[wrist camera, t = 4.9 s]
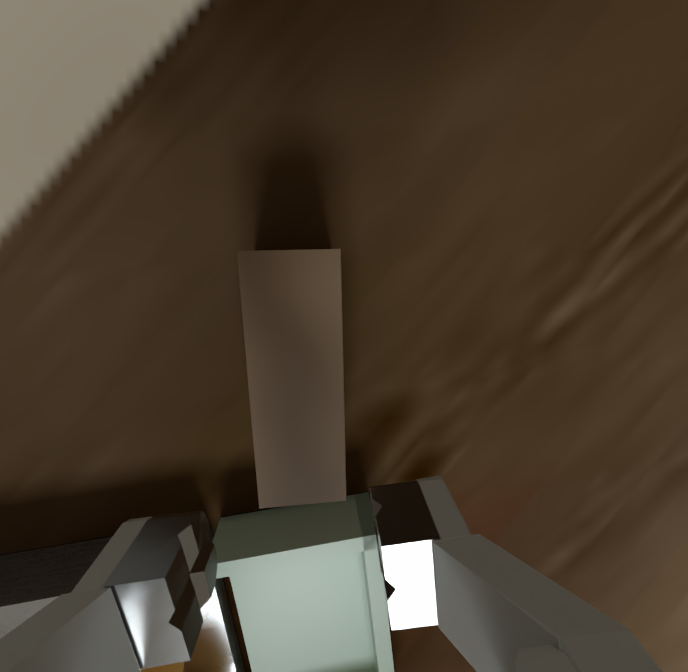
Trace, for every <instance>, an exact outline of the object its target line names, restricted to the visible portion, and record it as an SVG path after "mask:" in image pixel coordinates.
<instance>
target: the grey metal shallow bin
mask: <svg viewBox="0 0 688 672" xmlns="http://www.w3.org/2000/svg"><path fill="white" fill-rule="evenodd" d="M208 523H209V526H210V522H209V520H208ZM112 537H113V536H112ZM112 537H106V538H100V539H94V540H89V541H83V542H77V543H71V544H65V545H60V546H54V547H48V548H42V549H36V550H31V551H25V552H19V553H13V554H8V555H2V556H0V639H1V638H2V637H4V636H5V635H7V634H8V633H9V632H11V631H12V630H13V629H15V628H16V627H18V626H19V625H20V624H22V623H23V622H24V621H26V620H27V619H29V618H30V617H31V616H33V615H34V614H35V613H37V612H38V611H40V610H41V609H42V608H44V607H45V606H46V605H48V604H49V603H51V602H52V601H53V600H55V599H56V598H57V597H59V596H60V595H62V594H68V593H71V592H72V591H73V589H74V588H75V587H76V585H77V584H78V582H79V581H80V580H81V578H82V577H83V576H84V574H85V573H86V572H87V570H88V569H89V568H90V566H91V565H92V564H93V562H94V561H95V560H96V558H97V557H98V556H99V554H100V553H101V551H102V550H103V549H104V547H105V546H106V545H107V543H108V542H109V541H110V539H111V538H112ZM206 538H207V539H208V540H210V541H211V542H213V539H214V538H213V534H212V530H211V526H210V527H209V529H208V532H207V534H206ZM200 610H201V614H202V617H203V624H202V627H201V630H200V633H199V636H198V639H197V642H196V645H195V648H194V651H193V654H192V657H191V660H190V661H184V669H183V672H245V667H244V663H243V659H242V655H241V651H240V647H239V642H238V638H237V634H236V630H235V626H234V622H233V617H232V613H231V609H230V605H229V601H228V597H227V593H226V588H225V584H224V580H223V578H217V579H216V583H215V586H214V590H213V593H212V596H211V598H210V599H209V600H208V601H207V602H206V603H205V604H204V606H203V607H202V608H201V609H200Z"/></svg>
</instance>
